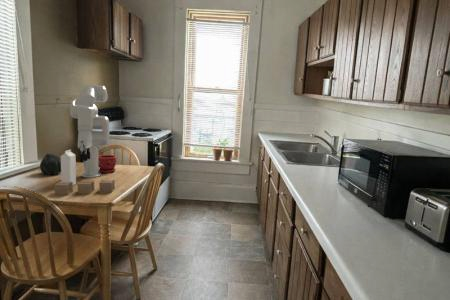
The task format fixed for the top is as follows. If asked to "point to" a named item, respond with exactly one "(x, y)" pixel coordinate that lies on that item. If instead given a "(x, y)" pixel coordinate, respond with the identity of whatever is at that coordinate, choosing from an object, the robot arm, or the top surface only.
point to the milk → (68, 167)
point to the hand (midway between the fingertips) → (85, 159)
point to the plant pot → (107, 163)
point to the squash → (50, 164)
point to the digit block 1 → (63, 188)
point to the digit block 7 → (107, 186)
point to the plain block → (85, 187)
